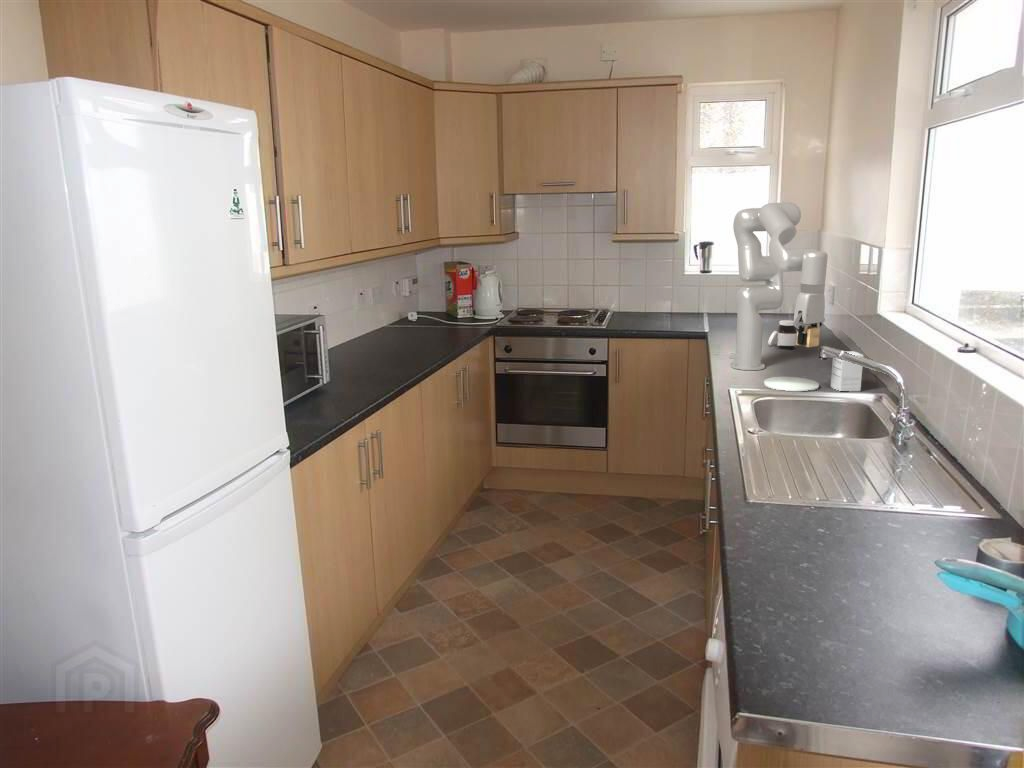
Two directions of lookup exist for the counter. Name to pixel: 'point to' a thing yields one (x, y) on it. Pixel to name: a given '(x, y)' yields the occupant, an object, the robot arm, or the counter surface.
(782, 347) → the spread jar
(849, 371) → the supplement box
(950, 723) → the counter surface
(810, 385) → the dish
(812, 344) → the block
